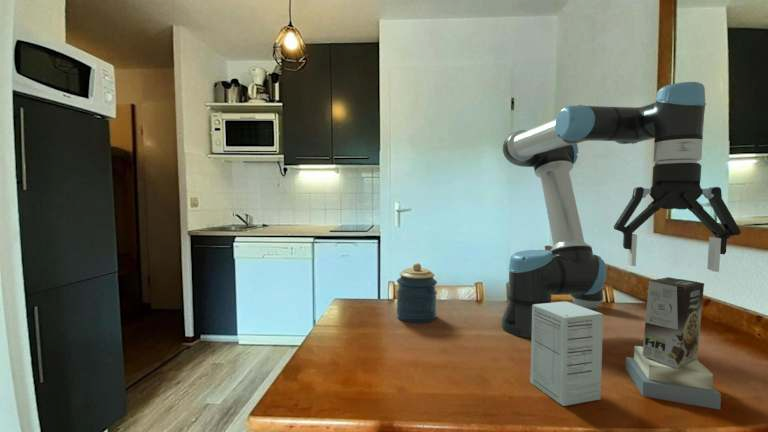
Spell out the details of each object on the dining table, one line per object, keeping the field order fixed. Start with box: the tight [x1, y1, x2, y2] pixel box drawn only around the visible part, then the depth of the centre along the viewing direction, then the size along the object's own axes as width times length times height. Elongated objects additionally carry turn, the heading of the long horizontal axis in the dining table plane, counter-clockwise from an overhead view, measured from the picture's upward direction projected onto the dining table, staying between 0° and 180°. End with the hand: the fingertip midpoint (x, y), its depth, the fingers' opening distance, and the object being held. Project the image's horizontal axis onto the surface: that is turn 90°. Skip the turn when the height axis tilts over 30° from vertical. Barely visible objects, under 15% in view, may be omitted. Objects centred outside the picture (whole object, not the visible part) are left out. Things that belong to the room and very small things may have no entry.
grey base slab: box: [625, 356, 722, 410], centre depth 73 cm, size 12×12×4 cm
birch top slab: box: [633, 345, 714, 390], centre depth 73 cm, size 10×10×3 cm
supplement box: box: [529, 301, 604, 407], centre depth 71 cm, size 10×9×17 cm
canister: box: [396, 262, 438, 324], centre depth 115 cm, size 13×13×18 cm
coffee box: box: [642, 276, 705, 368], centre depth 73 cm, size 9×6×16 cm
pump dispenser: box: [570, 288, 604, 310], centre depth 128 cm, size 10×10×15 cm
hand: (670, 267), depth 72 cm, fingers open, 13 cm apart
